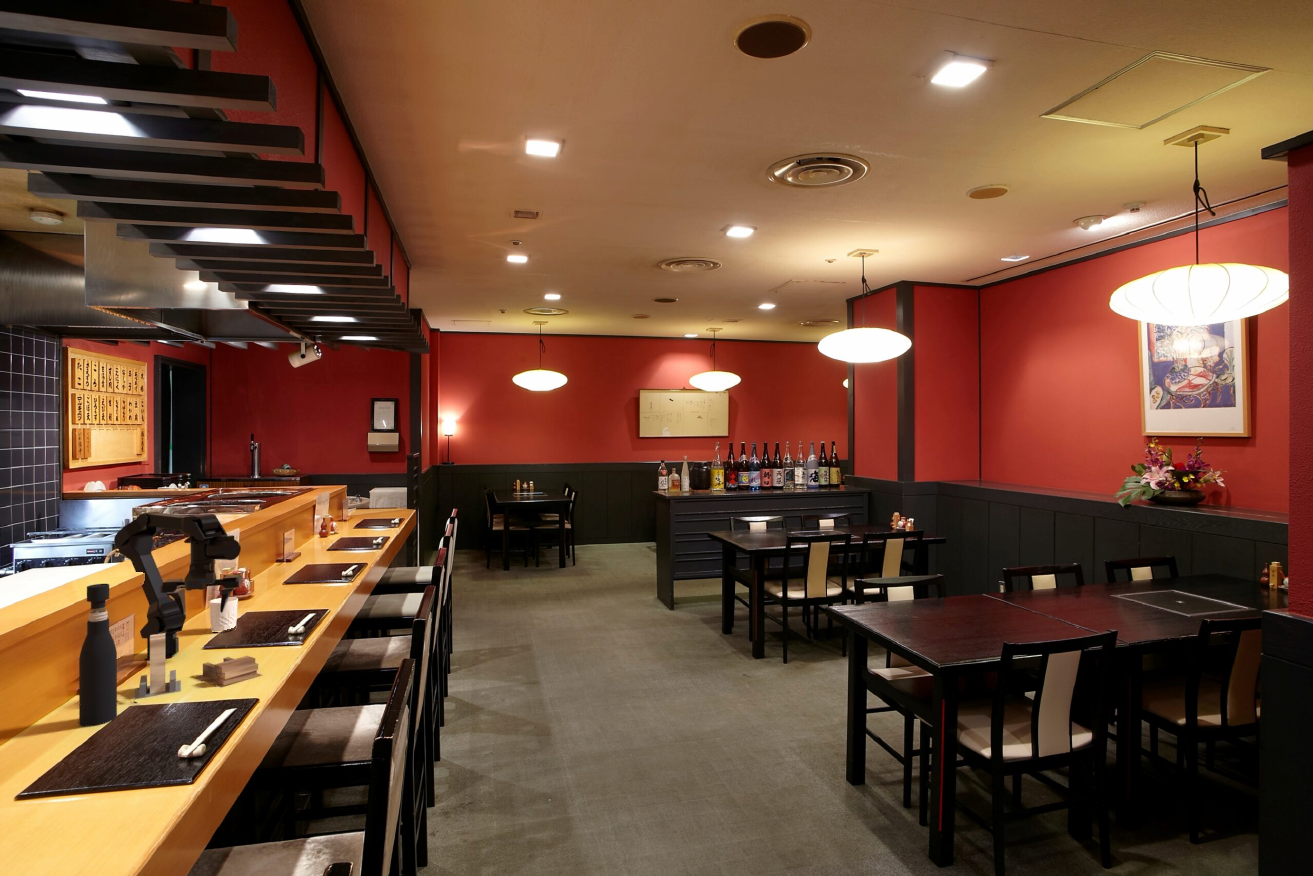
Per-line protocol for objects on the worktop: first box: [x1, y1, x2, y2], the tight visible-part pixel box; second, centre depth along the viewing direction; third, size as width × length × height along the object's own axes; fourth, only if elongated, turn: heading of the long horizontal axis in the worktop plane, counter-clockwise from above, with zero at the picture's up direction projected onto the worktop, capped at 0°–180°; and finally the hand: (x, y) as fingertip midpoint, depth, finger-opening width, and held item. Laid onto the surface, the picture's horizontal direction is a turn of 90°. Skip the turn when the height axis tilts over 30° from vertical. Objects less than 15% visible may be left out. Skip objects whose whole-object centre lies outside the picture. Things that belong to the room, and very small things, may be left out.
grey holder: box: [133, 669, 182, 704], centre depth 164 cm, size 9×9×4 cm
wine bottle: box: [78, 583, 118, 727], centre depth 148 cm, size 6×6×30 cm
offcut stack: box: [213, 655, 259, 685], centre depth 171 cm, size 5×8×4 cm, turn 149°
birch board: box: [149, 633, 166, 694], centre depth 164 cm, size 5×3×13 cm, turn 37°
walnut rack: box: [194, 656, 263, 688], centre depth 173 cm, size 14×10×4 cm
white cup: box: [208, 596, 239, 632], centre depth 218 cm, size 8×8×10 cm
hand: (202, 613), depth 189 cm, fingers open, 9 cm apart
